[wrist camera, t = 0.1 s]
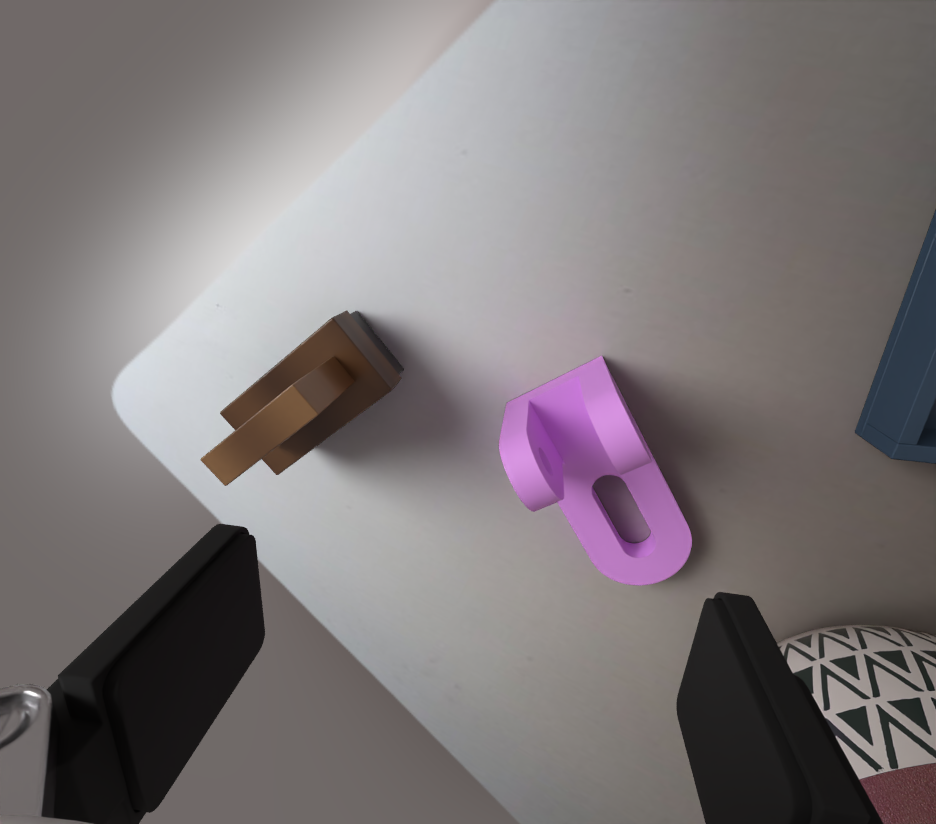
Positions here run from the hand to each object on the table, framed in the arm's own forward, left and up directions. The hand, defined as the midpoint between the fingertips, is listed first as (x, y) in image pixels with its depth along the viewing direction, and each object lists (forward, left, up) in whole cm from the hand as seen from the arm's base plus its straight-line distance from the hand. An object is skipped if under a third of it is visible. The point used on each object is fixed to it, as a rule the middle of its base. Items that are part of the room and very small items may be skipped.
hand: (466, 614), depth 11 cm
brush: (+2, -10, -18) cm, 21 cm away
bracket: (+6, +6, -18) cm, 20 cm away
